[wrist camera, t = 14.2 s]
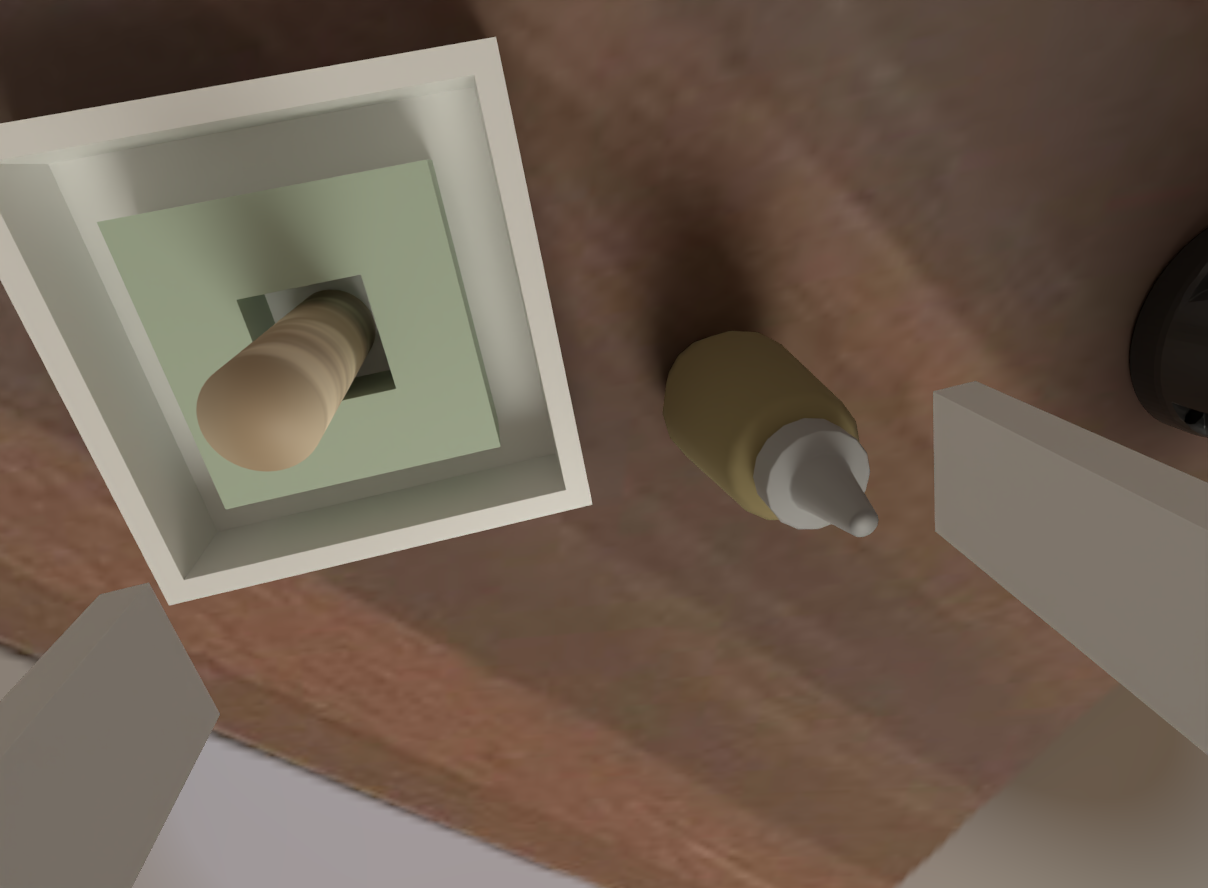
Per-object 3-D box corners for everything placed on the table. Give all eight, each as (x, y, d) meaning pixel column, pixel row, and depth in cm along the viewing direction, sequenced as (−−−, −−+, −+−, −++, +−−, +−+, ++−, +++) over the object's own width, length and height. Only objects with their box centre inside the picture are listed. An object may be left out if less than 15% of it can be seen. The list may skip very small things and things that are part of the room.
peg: (362, 282, 36) (300, 348, 23) (385, 356, 37) (339, 457, 25) (283, 298, 35) (175, 374, 23) (310, 372, 37) (224, 483, 24)
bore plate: (432, 159, 34) (426, 159, 31) (498, 420, 40) (500, 446, 36) (138, 215, 33) (96, 222, 29) (249, 476, 39) (225, 509, 35)
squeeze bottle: (631, 429, 42) (729, 599, 26) (671, 301, 40) (808, 398, 24) (749, 455, 45) (909, 627, 28) (795, 334, 42) (1000, 445, 26)
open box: (492, 56, 34) (495, 36, 28) (577, 460, 43) (592, 504, 37) (20, 140, 32) (-74, 136, 26) (210, 545, 41) (169, 605, 35)
